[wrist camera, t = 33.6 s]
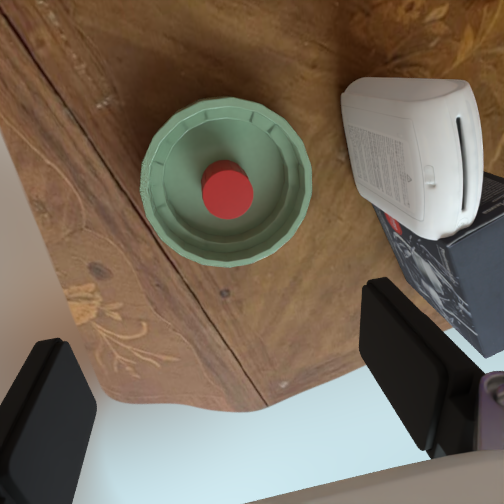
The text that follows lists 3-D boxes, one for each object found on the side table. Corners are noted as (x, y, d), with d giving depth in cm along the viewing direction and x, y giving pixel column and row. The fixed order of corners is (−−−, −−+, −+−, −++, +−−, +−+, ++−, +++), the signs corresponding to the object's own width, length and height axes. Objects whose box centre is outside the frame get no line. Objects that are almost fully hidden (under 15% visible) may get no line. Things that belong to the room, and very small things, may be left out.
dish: (165, 257, 32) (162, 278, 29) (128, 106, 26) (118, 110, 23) (301, 235, 34) (313, 253, 30) (294, 86, 28) (310, 87, 24)
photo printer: (397, 184, 33) (501, 237, 22) (355, 200, 33) (438, 261, 22) (382, 68, 28) (505, 63, 17) (332, 88, 28) (424, 95, 17)
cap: (236, 151, 29) (242, 160, 25) (253, 193, 30) (261, 207, 27) (193, 171, 29) (193, 182, 25) (213, 211, 31) (215, 227, 27)
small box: (361, 189, 32) (445, 244, 22) (427, 148, 31) (547, 184, 21) (405, 284, 38) (487, 363, 28) (461, 251, 38) (567, 320, 27)
